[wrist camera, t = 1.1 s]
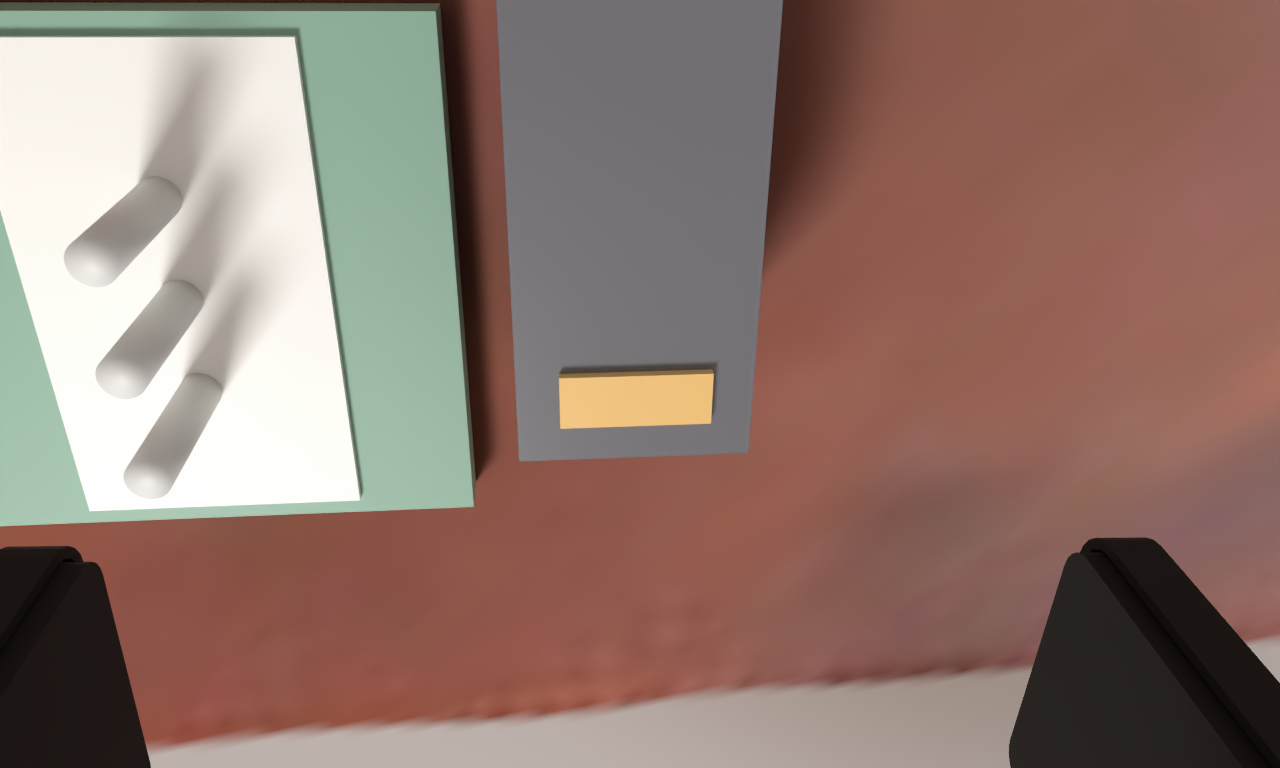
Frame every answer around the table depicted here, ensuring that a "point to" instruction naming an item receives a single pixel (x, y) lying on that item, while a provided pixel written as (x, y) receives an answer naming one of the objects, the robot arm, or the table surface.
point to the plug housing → (636, 219)
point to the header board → (228, 263)
